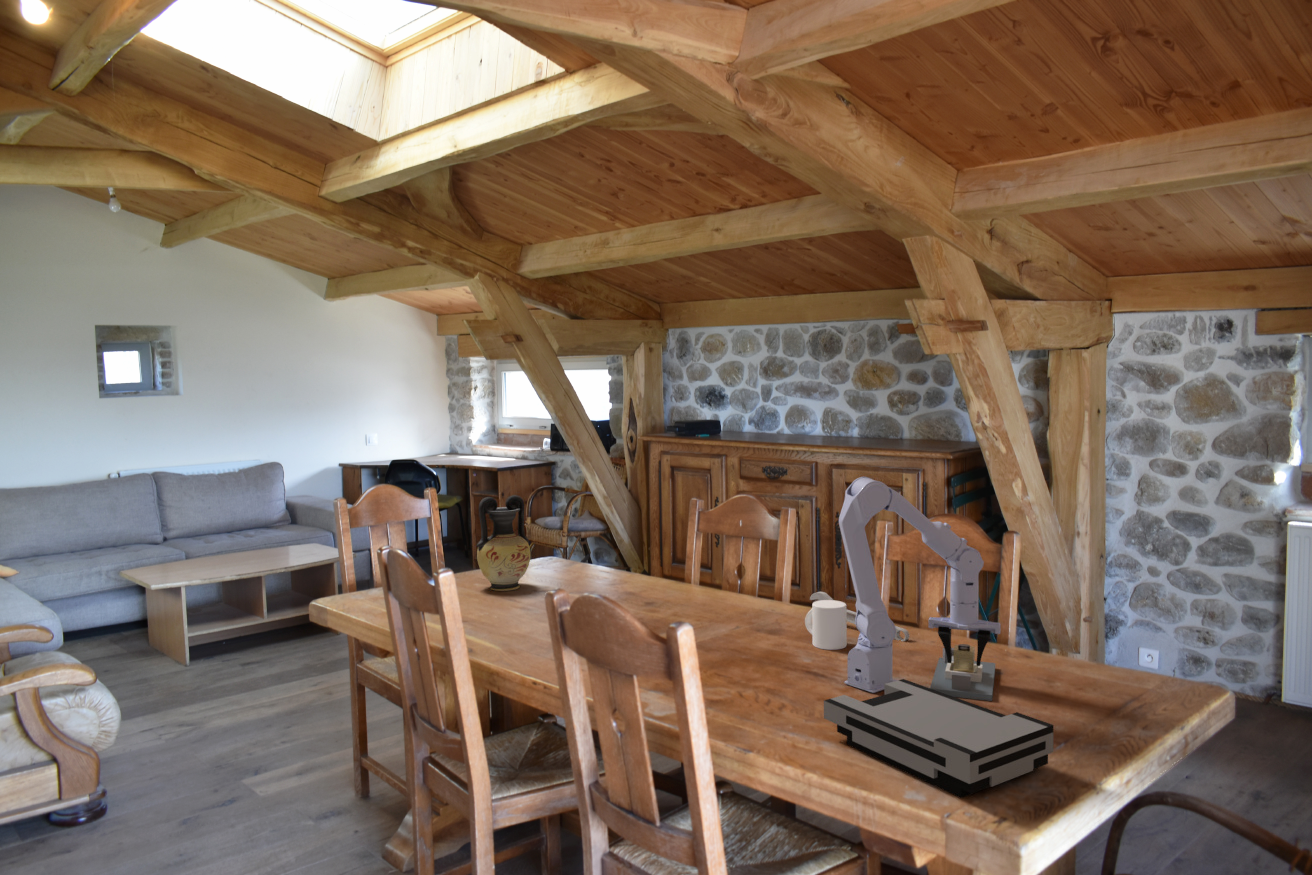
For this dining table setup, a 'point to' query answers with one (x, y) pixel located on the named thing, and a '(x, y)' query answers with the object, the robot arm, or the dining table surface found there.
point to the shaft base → (964, 680)
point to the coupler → (964, 658)
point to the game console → (942, 737)
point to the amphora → (503, 544)
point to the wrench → (852, 615)
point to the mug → (828, 624)
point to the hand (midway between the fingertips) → (964, 663)
